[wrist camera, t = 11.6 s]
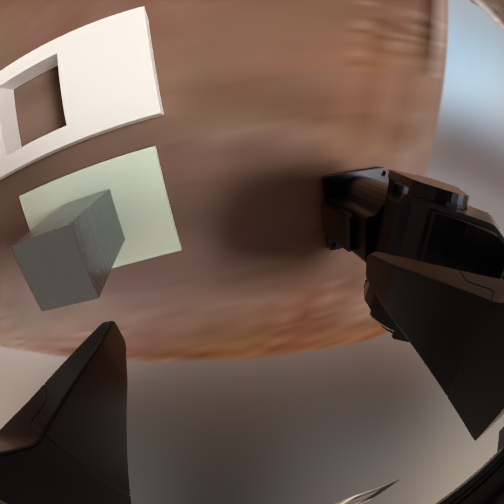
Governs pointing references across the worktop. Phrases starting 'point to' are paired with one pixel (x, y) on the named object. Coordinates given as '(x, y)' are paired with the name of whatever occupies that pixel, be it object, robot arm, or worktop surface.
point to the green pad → (117, 202)
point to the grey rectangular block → (71, 251)
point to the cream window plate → (85, 86)
